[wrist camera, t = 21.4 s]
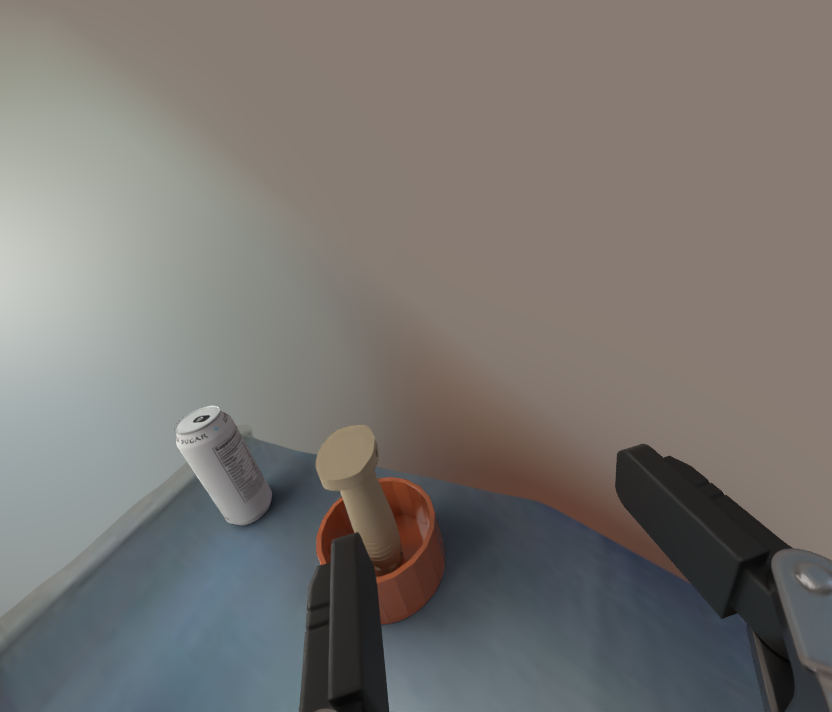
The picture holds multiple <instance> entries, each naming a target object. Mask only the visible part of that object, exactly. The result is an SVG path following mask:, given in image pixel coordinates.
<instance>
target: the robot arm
mask: <svg viewBox="0 0 832 712" xmlns="http://www.w3.org/2000/svg"><path fill="white" fill-rule="evenodd" d="M615 487H616V492H617V494H618V497H619V499H620V501H621V503H622V504H623V505H624V507H625V508H626V509H627V510H628V511H629V513H630V514H631V515H632V516H633V517H634V518H635V519H636V520H637V522H638V523H639V524H640V525H641V526H642V528H643V529H644V530H645V531H646V532H647V533H648V534H649V536H650V537H651V538H652V539H653V540H654V541H655V543H656V544H657V545H658V546H659V547H660V548H661V550H662V551H663V552H664V553H665V554H666V555H667V556H668V557H669V559H670V560H671V561H672V562H673V563H674V564H675V566H676V567H677V568H678V569H679V570H680V571H681V572H682V574H683V575H684V576H685V577H686V578H687V579H688V581H689V582H690V583H691V584H692V585H693V586H694V588H695V589H696V590H697V591H698V592H699V593H700V594H701V596H702V597H703V598H704V599H705V600H706V601H707V602H708V604H709V605H710V606H711V607H712V608H713V609H714V611H715V612H716V613H717V614H718V615H719V616H720V617H721V619H723V618H725V617H728V616H731V615H734V614H737V613H738V614H739V615H740V616H741V617H742V618H743V619H744V620H745V621H746V623H747V635H748V639H749V644H750V648H751V653H752V657H753V662H754V666H755V671H756V675H757V680H758V684H759V689H760V693H761V698H762V702H763V707H764V711H765V712H832V561H831V560H830V559H828V558H826V557H823V556H821V555H819V554H816V553H813V552H810V551H806V550H800V549H794V548H792V547H790V546H789V545H787V544H786V543H785V542H783V541H782V540H781V539H780V538H778V537H777V536H776V535H775V534H773V533H772V532H771V531H770V530H769V529H767V528H766V527H765V526H764V525H762V524H761V523H760V522H759V521H758V520H756V519H755V518H754V517H753V516H751V515H750V514H749V513H748V512H747V511H745V510H744V509H743V508H742V507H740V506H739V505H738V504H737V503H736V502H734V501H733V500H732V499H731V498H730V497H728V496H727V495H724V494H723V492H722V491H721V490H720V489H719V488H717V487H716V486H715V485H714V484H712V483H709V481H708V480H707V479H706V478H705V477H704V476H703V475H701V474H700V473H699V472H698V471H696V470H695V469H694V468H693V467H691V466H690V465H688V464H686V463H684V462H682V461H679V460H677V459H675V458H673V457H671V456H667V457H664V458H663V457H662V456H660V454H658V453H657V452H656V451H655V450H654V449H652V448H651V447H650V446H648V445H646V444H640V445H637V446H634V447H631V448H627V449H624V450H621V451H619V452H618V454H617V465H616V482H615ZM307 611H308V613H307V616H306V632H305V642H304V655H303V669H302V682H301V695H300V706H299V712H389V704H388V693H387V683H386V672H385V661H384V650H383V640H382V629H381V618H380V608H379V597H378V587H377V579H376V574H375V570H374V566H373V563H372V561H371V559H370V556H369V554H368V552H367V549H366V547H365V545H364V543H363V540H362V538H361V536H360V534H359V532H356V533H352V534H349V535H346V536H343V537H340V538H336V539H333V540H332V544H331V562H329V563H326V564H323V565H320V566H317V568H316V571H315V573H314V576H313V578H312V580H311V583H310V585H309V589H308V602H307Z"/></svg>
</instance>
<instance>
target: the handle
mask: <svg viewBox="0 0 832 712" xmlns="http://www.w3.org/2000/svg"><path fill="white" fill-rule="evenodd" d="M377 463H378V446H377V443H376V440H375V438H374V435H373V433H372V431H371V430H370V428H369V427H368V426H365V425H353V426H348V427H344V428H341V429H339V430H337V431H335V432H333V433H332V434H331V435H330V436H329V438H328V439H327V440H326V441H325V442H324V443H323V445H322V446H321V448H320V450H319V453H318V456H317V459H316V463H315V464H316V469H317V473H318V475H319V478H320V480H321V483H322V485H323V487H324V488H325V489H328V490H331V491H340V492H341V495H342V498H343V501H344V504H345V506H346V509H347V512H348V515H349V518H350V521H351V524H352V527H353V530H354V533H356V532H359V534H360V536H361V538H362V540H363V543H364V545H365V547H366V549H367V552H368V554H369V556H370V559H371V561H372V563H373V565H374V566H375V569H376V571H377V573H378V574H379V575H382V576H383V575H385V574H389V573H392V572H394V571H395V570H397V568H398V566H399V565H400V563H402V562H403V560H404V554H403V549H402V548H401V540H400V535H399V531H398V527H397V524H396V521H395V518H394V515H393V512H392V510H391V508H390V506H389V503H388V501H387V499H386V497H385V494H384V492H383V490H382V488H381V485H380V483H379V481H378V478H377V476H376V474H375V471H374V469H375V467H376V465H377Z"/></svg>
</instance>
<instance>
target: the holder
mask: <svg viewBox="0 0 832 712" xmlns="http://www.w3.org/2000/svg"><path fill="white" fill-rule="evenodd" d="M378 481H379V483H380V485H381V488H382V490H383V492H384V494H385V497H386V499H387V501H388V503H389V506H390V508H391V510H392V512H393V515H394V518H395V521H396V524H397V527H398V531H399V535H400V540H401V548H402V549H403V554H404V560H403V562H402V563H400V565H399V566H398V568H397V570H395V571H394V572H392V573H389V574H385V575H383V576H382V575H379V574H378V573H377V571H376V569H375V566H374V565H373V566H374V570H375V574H376V579H377V587H378V597H379V608H380V618H381V624H390V623H395V622H398V621H401V620H403V619H405V618H407V617H409V616H411V615H413V614H414V613H416V612H417V611H418V610H420V609H421V608H422V607H423V606H424V605H425V604H426V603H427V602H428V601H429V600H430V599H431V597H432V596H433V594H434V593H435V592H436V590H437V588H438V586H439V584H440V582H441V579H442V576H443V573H444V568H445V548H444V544H443V540H442V536H441V533H440V529H439V525H438V522H437V518H436V514H435V511H434V508H433V505H432V502H431V499H430V497H429V496H428V495H427V494H426V492H425V491H424V490H423V489H422V488H421V487H420V486H418V485H416V484H415V483H413V482H411V481H409V480H406V479H400V478H394V477H389V478H378ZM352 533H354V530H353V527H352V524H351V521H350V518H349V515H348V512H347V509H346V506H345V504H344V501H343V498H342V497H341V498H340V499H338V500H337V501H336V502H335V503H334V504H333V505H332V506H331V508H330V509H329V511H328V512H327V514H326V515H325V517H324V518H323V520H322V522H321V525H320V528H319V531H318V534H317V543H316V554H317V556H318V559H319V561H320V564H321V565H323V564H326V563H329V562H331V544H332V540H333V539H336V538H340V537H343V536H346V535H349V534H352Z"/></svg>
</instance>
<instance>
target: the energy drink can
mask: <svg viewBox="0 0 832 712" xmlns="http://www.w3.org/2000/svg"><path fill="white" fill-rule="evenodd" d="M174 429H175V432H176V433H177V438H176V445H177V447H178V448H179V450H180V451H181V453H182V454H183V456H184V457H185V459H186V460H187V462H188V463H189V465H190V466H191V468H192V469H193V471H194V472H195V474H196V476H197V477H198V479H199V480H200V482H201V483H202V485H203V486H204V488H205V489H206V491H207V492H208V494H209V495H210V497H211V498H212V500H213V501H214V503H215V504H216V506H217V507H218V509H219V510H220V512H221V513H222V515H223V516H224V518H225V519H226V521H227V522H229V523H231V524H237V525H247V524H250V523H252V522H254V521H256V520H258V519H259V518H260V517H262V516H263V515H264V514H265V512H266V511H267V510H268V508H269V506H270V503H271V498H272V491H271V489H270V487H269V485H268V483H267V482H266V480H265V478H264V476H263V474H262V472H261V471H260V469H259V467H258V465H257V463H256V462H255V460H254V458H253V456H252V454H251V452H250V451H249V449H248V447H247V445H246V443H245V441H244V440H243V438H242V436H241V434H240V432H239V431H238V429H237V427H236V425H235V423H234V421H233V420H232V418H231V416H229V415H228V414H226V413H224V412H222V411H220V408H219V407H217V406H206V407H203V408H200V409H197V410H195V411H193V412H191V413H189V414H187V415H186V416H185V417H183V418H182V419H181V420H179V422H178V423H177V424H176V425H175V428H174Z"/></svg>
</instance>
